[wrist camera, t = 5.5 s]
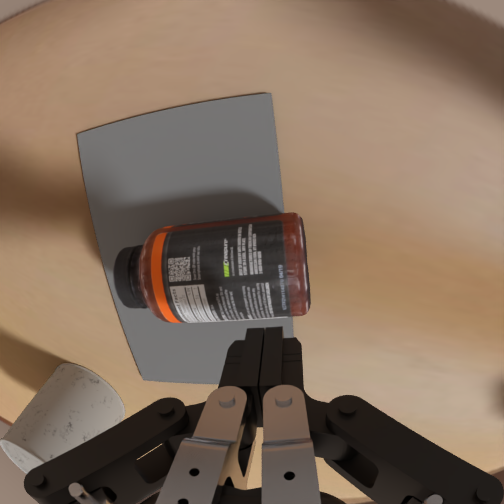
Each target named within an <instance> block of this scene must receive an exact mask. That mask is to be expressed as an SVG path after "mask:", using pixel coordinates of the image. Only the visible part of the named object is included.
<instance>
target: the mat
mask: <svg viewBox="0 0 504 504" xmlns="http://www.w3.org/2000/svg"><path fill="white" fill-rule="evenodd" d="M77 138H78V145H79V152H80V159H81V165H82V171H83V177H84V182H85V188H86V193H87V198H88V203H89V208H90V212H91V217H92V221H93V226H94V230H95V234H96V238H97V242H98V246H99V250H100V254H101V258H102V261H103V265H104V269H105V272H106V276H107V279H108V282H109V286H110V289H111V292H112V296H113V299H114V302H115V305H116V308H117V311H118V314H119V317H120V320H121V323H122V326H123V329H124V332H125V334H126V337H127V340H128V343H129V345H130V348H131V351H132V353H133V356H134V358H135V361H136V363H137V366H138V368H139V371H140V373H141V376H142V378H143V380H147V381H159V382H174V383H193V384H219V382H220V379H221V375H222V371H223V367H224V365H225V359H226V355H227V351H228V348H229V347H230V345H231V344H232V343H233V342H234V341H235V340H245V336H246V330H247V328H263V327H264V328H266V327H280V326H283V332H284V338H293V337H294V335H293V319H292V317H286V318H272V319H256V320H239V321H220V322H193V323H186V322H185V323H170V322H165V321H162V320H160V319H158V318H157V317H156V316H154V314H153V313H152V312H151V311H150V309H149V308H146V309H142V308H137V309H134V308H128V307H126V306H125V305H123V304H122V302H121V301H120V300H119V298H118V296H117V293H116V291H115V287H114V282H113V266H114V261H115V259H116V256H117V254H118V253H119V251H121V250H122V249H123V248H125V247H133V246H137V245H144V243H145V241H146V239H147V238H148V236H149V235H150V234H151V233H152V232H153V231H155V230H157V229H159V228H163V227H167V226H175V225H181V224H189V223H197V222H205V221H215V220H223V219H232V218H241V217H250V216H259V215H268V214H277V213H284V206H283V195H282V185H281V175H280V165H279V156H278V147H277V138H276V129H275V120H274V112H273V104H272V96H271V93H266V94H257V95H249V96H241V97H234V98H227V99H220V100H214V101H208V102H202V103H197V104H191V105H186V106H181V107H176V108H172V109H167V110H162V111H158V112H154V113H150V114H145V115H141V116H137V117H133V118H130V119H126V120H122V121H119V122H115V123H112V124H108V125H105V126H101V127H98V128H95V129H92V130H88V131H85V132H82V133H79V134H77Z"/></svg>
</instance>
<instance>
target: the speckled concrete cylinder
mask: <svg viewBox="0 0 504 504" xmlns="http://www.w3.org/2000/svg"><path fill="white" fill-rule="evenodd" d="M124 416H125V408H124V404H123V402H122V400H121V398H120V396H119V395H118V394H117V392H116V391H115V390H114V389H113V388H112V387H111V386H110V385H109V384H108V383H107V382H106V381H105V380H104V379H103V378H101V377H100V376H98V375H97V374H96V373H94V372H93V371H91V370H89V369H87V368H85V367H83V366H80V365H77V364H72V363H63V364H61V365H59V366H58V367H57V368H56V369H55V372H54V373H53V374H52V375H51V377H50V378H49V379H48V380H47V381H46V383H45V384H44V385H43V386H42V388H41V389H40V390H39V391H38V393H37V394H36V395H35V396H34V398H33V399H32V400H31V402H30V403H29V404H28V405H27V407H26V408H25V409H24V411H23V412H22V413H21V414H20V416H19V417H18V418H17V420H16V421H15V422H14V424H13V425H12V426H11V428H10V429H9V430H8V432H7V433H6V434H5V436H4V437H3V438H1V440H0V445H1V447H2V449H3V451H4V452H5V453H6V454H7V456H8V457H9V458H10V459H11V460H12V461H13V462H14V463H15V464H16V465H17V466H18V467H19V468H20V469H21V470H22V471H23V472H25V473H26V474H27V473H28V472H29V471H30V470H32V469H33V468H35V467H37V466H39V465H41V464H43V463H45V462H47V461H49V460H51V459H53V458H55V457H57V456H59V455H61V454H63V453H65V452H67V451H69V450H71V449H73V448H75V447H77V446H79V445H80V444H82V443H84V442H86V441H88V440H90V439H92V438H93V437H95V436H97V435H99V434H101V433H102V432H104V431H106V430H108V429H110V428H111V427H113V426H115V425H117V424H118V423H120V422H121V421H122V419H123V418H124Z"/></svg>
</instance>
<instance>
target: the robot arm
mask: <svg viewBox="0 0 504 504" xmlns="http://www.w3.org/2000/svg"><path fill="white" fill-rule="evenodd" d="M257 427H263V443H262V487H260V488H255V489H249V490H247V481H248V476H249V472H250V467H251V463H252V458H253V454H254V449H255V444H256V441H255V437H256V429H257ZM160 444H162V445H160ZM159 445H160V446H159ZM157 446H159V447H157ZM155 447H157V448H156V449H154V448H155ZM152 449H154V450H153V451H151V450H152ZM149 451H151V452H149ZM148 452H149V453H148ZM146 453H148V454H146ZM144 454H146V455H145V456H143V455H144ZM141 456H143V457H141ZM315 456H316V457H321V458H324V460H325V462H326V463H327V464H328V465H329V466H330V467H332V468H333V469H334V470H335V471H336V472H338V473H339V474H340V475H341V476H343V477H344V478H345V479H346V480H348V481H349V482H350V483H351V484H353V485H354V486H355V487H356V488H358V489H359V490H360V491H362V492H363V493H364V494H366V495H367V496H368V497H370V498H371V499H372V500H374V501H375V502H376V503H378V504H500V503H501V501H502V499H503V495H504V490H503V486H502V484H501V482H500V481H499V480H498V479H497V478H495V477H494V476H492V475H490V474H488V473H486V472H484V471H482V470H480V469H479V468H477V467H475V466H473V465H471V464H469V463H468V462H466V461H464V460H462V459H460V458H459V457H457V456H455V455H453V454H452V453H450V452H448V451H446V450H445V449H443V448H441V447H439V446H438V445H436V444H434V443H433V442H431V441H429V440H427V439H426V438H424V437H422V436H421V435H419V434H417V433H416V432H414V431H412V430H411V429H409V428H407V427H406V426H404V425H403V424H401V423H399V422H398V421H396V420H395V419H393V418H391V417H390V416H388V415H387V414H385V413H383V412H382V411H380V410H379V409H377V408H375V407H374V406H372V405H371V404H369V403H368V402H366V401H365V400H363V399H361V398H360V397H357V396H353V395H343V396H339V397H337V398H335V399H333V400H332V401H330V403H326V402H321V401H317V400H314V399H312V398H311V397H309V396H308V395H307V394H306V392H305V390H304V385H303V365H302V347H301V343H300V342H299V341H298V339H297V338H296V337H293V338H284V332H283V326H280V327H266V328H264V327H263V328H247V330H246V336H245V340H235V341H234V342H233V343H232V344H231V345H230V347H229V348H228V351H227V355H226V359H225V365H224V367H223V371H222V375H221V379H220V382H219V386H218V389H216V390H214V391H213V392H212V393H211V394H210V395H209V397H208V399H207V401H205V402H203V403H199V404H195V405H189V406H185V405H184V403H183V402H182V401H181V400H179V399H177V398H163V399H160V400H157V401H156V402H154V403H152V404H151V405H149V406H147V407H146V408H144V409H142V410H141V411H139V412H137V413H136V414H134V415H132V416H130V417H129V418H127V419H125V420H124V421H122V422H120V423H118V424H117V425H115V426H113V427H111V428H110V429H108V430H106V431H104V432H102V433H101V434H99V435H97V436H95V437H93V438H92V439H90V440H88V441H86V442H84V443H82V444H80V445H79V446H77V447H75V448H73V449H71V450H69V451H67V452H65V453H63V454H61V455H59V456H57V457H55V458H53V459H51V460H49V461H47V462H45V463H43V464H41V465H39V466H37V467H35V468H33V469H32V470H30V471H29V472H28V473H27V475H26V477H25V479H24V488H25V490H26V492H27V493H28V494H29V495H30V496H31V497H32V498H34V499H35V500H36V501H37V502H38V503H39V504H136V503H137V502H139V501H140V500H142V499H144V498H145V497H147V496H148V495H150V494H152V493H153V492H155V491H156V490H158V489H160V488H161V487H162V489H161V491H160V492H158V493H156V494H154V495H152V496H151V497H149V498H148V499H146V500H145V501H143V502H142V503H140V504H346V503H345V502H343V501H342V500H340V499H338V498H336V497H334V496H332V495H330V494H327V493H324V492H320V491H319V484H318V476H317V469H316V462H315ZM140 457H141V458H140ZM138 458H140V459H138ZM137 459H138V460H137Z"/></svg>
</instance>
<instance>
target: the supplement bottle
mask: <svg viewBox="0 0 504 504" xmlns="http://www.w3.org/2000/svg"><path fill="white" fill-rule="evenodd" d="M113 282H114V287H115V291H116V293H117V296H118V298H119V300H120V301H121V302H122V304H123V305H125V306H126V307H128V308H134V309H137V308H142V309H146V308H149V309H150V311H151V312H152V313H153V314H154V316H156V317H157V318H158V319H160V320H162V321H165V322H170V323H185V322H186V323H193V322H220V321H239V320H256V319H272V318H286V317H293V316H302V315H305V314H306V313H307V312H308V310H309V308H310V304H311V301H310V283H309V273H308V265H307V251H306V238H305V231H304V225H303V220H302V218H301V217H300V216H299V215H298V214H296V213H277V214H268V215H259V216H250V217H241V218H232V219H223V220H215V221H205V222H197V223H189V224H181V225H175V226H167V227H163V228H159V229H157V230H155V231H153V232H152V233H151V234H150V235H149V236H148V238H147V239H146V241H145V243H144V245H137V246H133V247H125V248H123V249H122V250H121V251H119V253H118V254H117V256H116V259H115V261H114V266H113Z"/></svg>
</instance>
